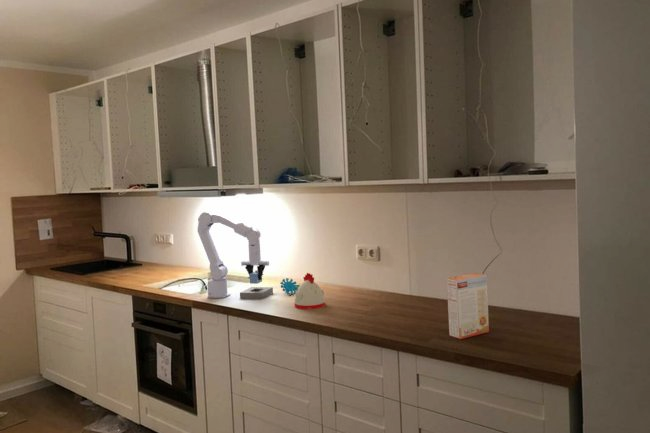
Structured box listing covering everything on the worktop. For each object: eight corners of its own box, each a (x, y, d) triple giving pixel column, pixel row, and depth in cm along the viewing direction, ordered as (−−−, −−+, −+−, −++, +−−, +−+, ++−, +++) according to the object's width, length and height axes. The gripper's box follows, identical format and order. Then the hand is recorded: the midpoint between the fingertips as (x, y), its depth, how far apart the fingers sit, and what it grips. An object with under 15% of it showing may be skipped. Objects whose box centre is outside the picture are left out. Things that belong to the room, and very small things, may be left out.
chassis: (240, 298, 259) (239, 292, 259) (251, 292, 273) (251, 287, 273) (262, 299, 256) (261, 293, 256) (273, 293, 269) (272, 287, 269)
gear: (283, 293, 260) (279, 277, 266) (279, 300, 264) (275, 284, 270) (303, 293, 266) (298, 277, 272) (299, 299, 269) (294, 284, 275)
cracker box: (477, 329, 190) (475, 272, 188) (489, 332, 184) (488, 274, 183) (447, 335, 183) (446, 277, 182) (459, 339, 178) (458, 279, 176)
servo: (248, 284, 260) (247, 272, 259) (256, 280, 269) (255, 269, 269) (255, 284, 258) (255, 272, 258) (263, 280, 268) (263, 269, 268)
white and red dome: (304, 310, 229) (303, 277, 228) (289, 305, 240) (287, 273, 239) (330, 305, 236) (329, 273, 236) (314, 300, 248) (313, 269, 247)
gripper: (238, 254, 261) (239, 280, 262) (264, 254, 257) (266, 281, 258) (244, 252, 268) (245, 278, 269) (270, 252, 264) (271, 278, 265)
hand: (256, 279), depth 264 cm, fingers closed on servo, 4 cm apart
